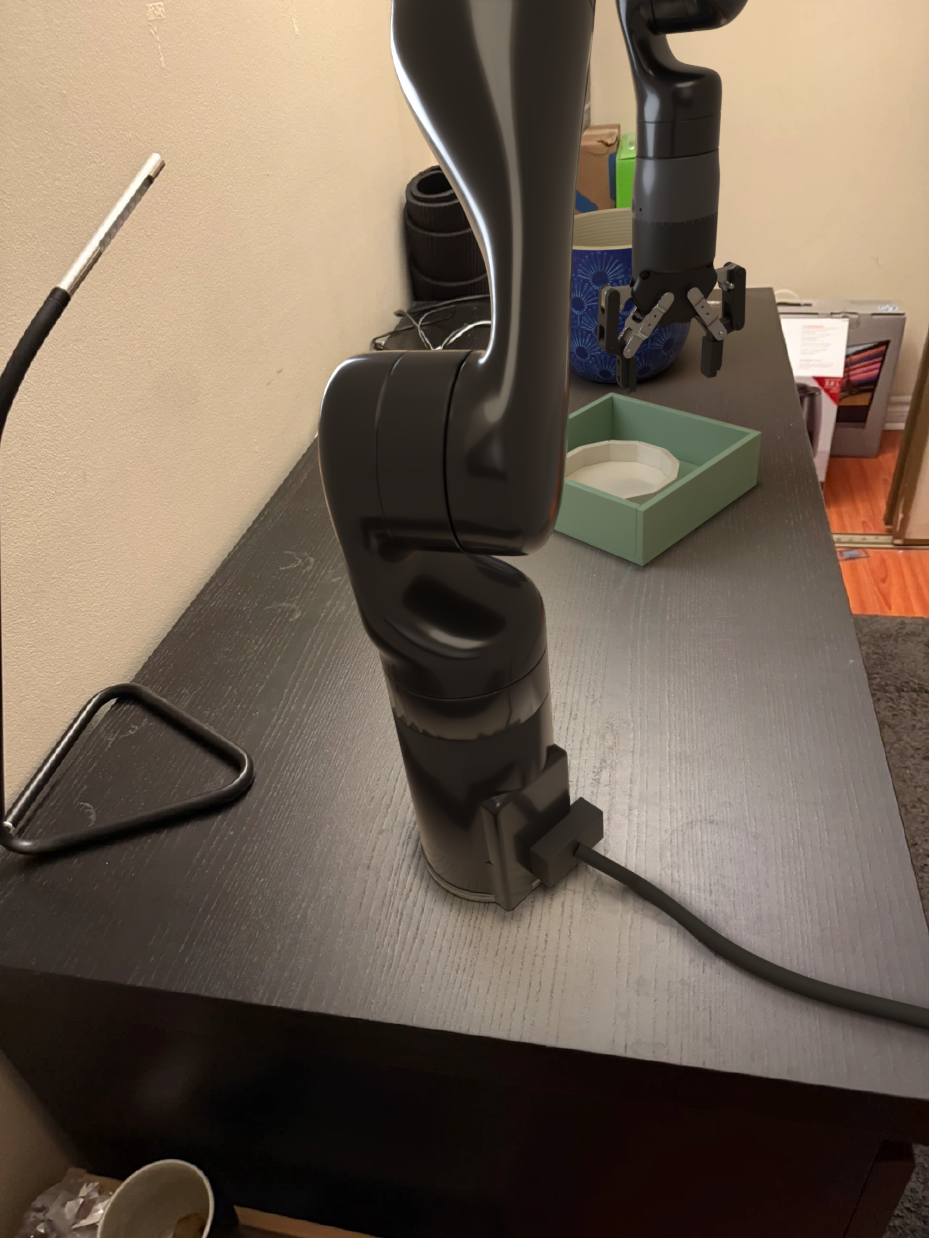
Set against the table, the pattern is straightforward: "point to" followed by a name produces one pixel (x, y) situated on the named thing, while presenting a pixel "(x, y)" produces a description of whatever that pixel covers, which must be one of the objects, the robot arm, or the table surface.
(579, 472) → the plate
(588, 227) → the planter
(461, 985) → the table surface
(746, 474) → the tote
